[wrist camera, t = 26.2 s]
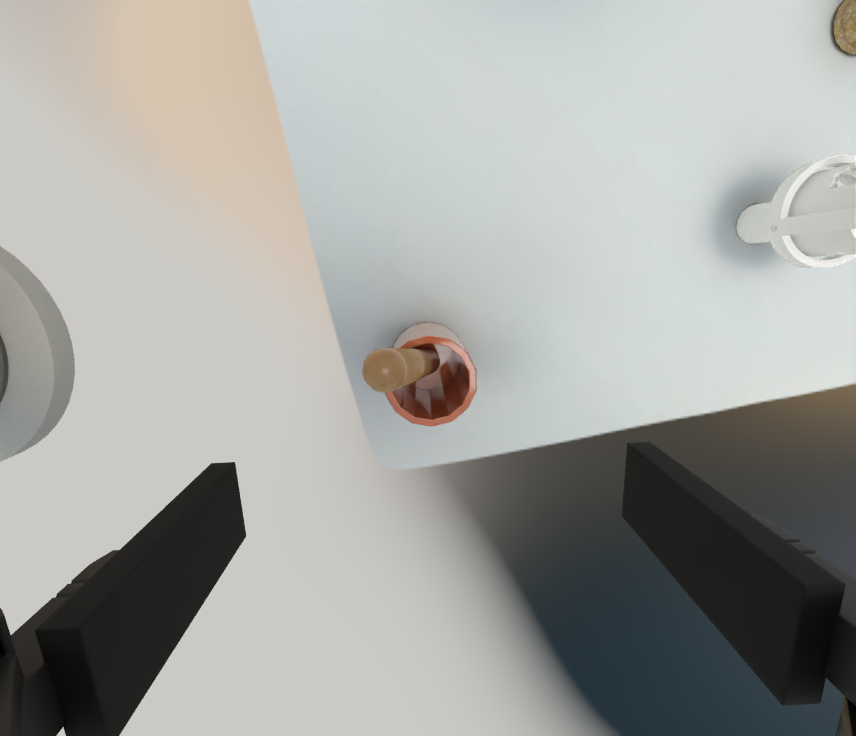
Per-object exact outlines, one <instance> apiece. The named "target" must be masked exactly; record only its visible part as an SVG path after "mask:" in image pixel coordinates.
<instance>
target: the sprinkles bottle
mask: <svg viewBox="0 0 856 736" xmlns="http://www.w3.org/2000/svg"><path fill="white" fill-rule="evenodd" d="M834 35H835V39H836V43H837V44H838V45H839V46H840V48H841V49H842V50H844V51H846V52H848V53H849V54H854V55H856V0H844V1H843V3H842V4H841V6H840V7H839V9H838V12H837V14H836V17H835V21H834Z"/></svg>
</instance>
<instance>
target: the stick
mask: <svg viewBox="0 0 856 736" xmlns="http://www.w3.org/2000/svg"><path fill="white" fill-rule="evenodd" d="M439 366H440V358H439V356H438V354H437V353H436V352H434V351H432V350H424V349H404V348H379V349H376V350H374V351H372V352H371V353H370V354H369V355H368V356H367V357H366V359H365V361H364V364H363V376H364V379H365V381H366V383H367V384H368V385H369V386H370V387H371V388H372V389H374V390H376V391H378V392H392V391H394V390H397V389H399V388H401V387H403V386H405V385H408V384H410V383H412V382H414V381H416V380H419V379H421V378H423V377H425V376H427V375H430V374H432V373H434V372H435V371H437V369H438V368H439Z"/></svg>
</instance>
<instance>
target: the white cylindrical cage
mask: <svg viewBox="0 0 856 736" xmlns="http://www.w3.org/2000/svg"><path fill="white" fill-rule="evenodd" d="M823 167H835V168H832V169H828V170H824V171H820V172H817V173H814V172H816V171H817V170H819V169H821V168H823ZM837 180H838V181H840V182H841V183H843V184H844V185H845V186H842V187H837ZM737 233H738V235H739V237H740V238H741V239H742V240H743V241H744V242H746V243H750V244H754V243H763V242H770V243H771V245H772V247H773V249H774V250H775V252H776V253H777V254H778V255H779V256H780V257H781V258H782V259H783V260H785V261H786V262H788V263H790V264H792V265H794V266H798V267H804V268H823V267H833V266H837V265H840V264H843V263H845V262H847V261H849V260H851V259H853V258H855V257H856V156H855V155H849V154H841V155H834V156H830V157H827V158H823V159H820V160H816V161H813V162H810V163H808V164H805V165H804V166H802V167H800V168H798V169H797V170H796V171H794V172H793V173H792V174H791V175H789V176H788V177H787V178H786V179H785V181H784V182H783V183H782V184H781V185H780V187H779V188H778V190H777V191H776V193H775V195H774V197H773V199H772V201H770V202H765V203H759V204H755V205H751V206H749V207H748V208H746V209H745V210H744V211H743V212H742V213H741V215H740V216H739V218H738V221H737ZM808 256H809V257H808ZM812 256H828V257H826V258H823V259H819V260H818V259H813V258H810V257H812Z"/></svg>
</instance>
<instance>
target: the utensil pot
mask: <svg viewBox="0 0 856 736" xmlns="http://www.w3.org/2000/svg"><path fill="white" fill-rule="evenodd" d="M393 348H404V349H424V350H432V351H434V352H436V353H437V354H438V356H439V358H440V366H439V368H438V369H437V371H435V372H434V373H432V374H430V375H427V376H425V377H423V378H421V379H419V380H416V381H414V382H412V383H410V384H408V385H405V386H403V387H401V388H399V389H397V390H394V391H392V392H385V394H386V396H387V398H388V400H389V402H390V403H391V405H392V407H393V409H394V410H395V411H396V412H397V413H398V414H399V415H401V416H402V417H404V418H405V419H407V420H408V421H410V422H411V423H414V424H420V425H426V426H436V425H440V424H444V423H448V422H451V421H453V420H454V419H456V418H457V417H458V416H459V415H460V414H462V413H463V412H464V411H465V410H467V408H468V407H469V405H470V403H471V401H472V399H473V397H474V394H475V392H476V389H477V385H476V368H475V366H474V364H473V362H472V361H471V359H470V357H469V355H468V353H467V351H466V349H465V348H464V346H463V345H462V343H461V341H460V340H459V338H458V336H457V335H456V334H454V333H453V332H452V331H451V330H450V329H448V328H446V327H445V326H443V325H440V324H436V323H428V322H427V323H420V324H416V325H414V326H411V327H409V328H408V329H407V330H405V331H404V332H403V333H402V334H401V335H400V336H399V337H398V338H397V340H396V342H395V345H394V347H393Z"/></svg>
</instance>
